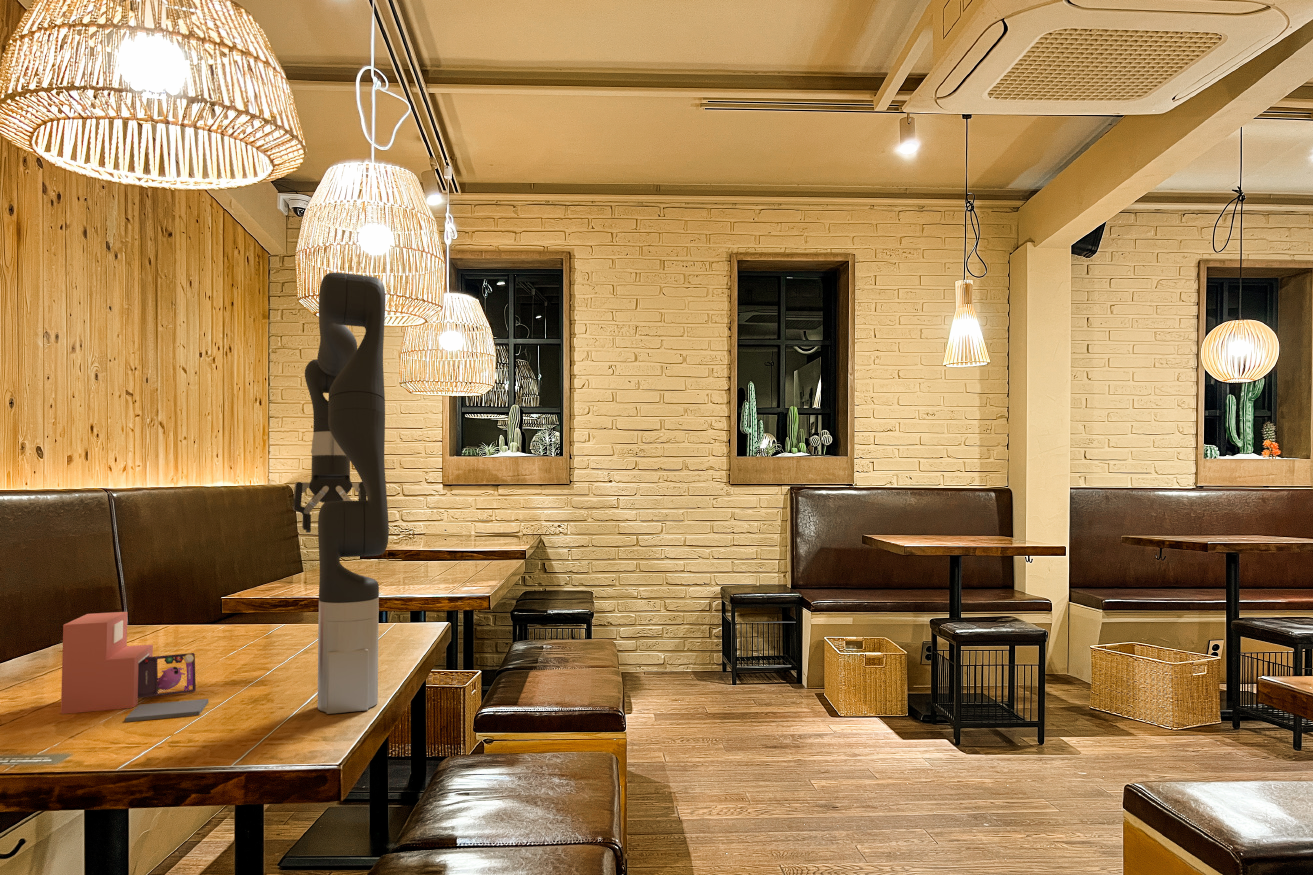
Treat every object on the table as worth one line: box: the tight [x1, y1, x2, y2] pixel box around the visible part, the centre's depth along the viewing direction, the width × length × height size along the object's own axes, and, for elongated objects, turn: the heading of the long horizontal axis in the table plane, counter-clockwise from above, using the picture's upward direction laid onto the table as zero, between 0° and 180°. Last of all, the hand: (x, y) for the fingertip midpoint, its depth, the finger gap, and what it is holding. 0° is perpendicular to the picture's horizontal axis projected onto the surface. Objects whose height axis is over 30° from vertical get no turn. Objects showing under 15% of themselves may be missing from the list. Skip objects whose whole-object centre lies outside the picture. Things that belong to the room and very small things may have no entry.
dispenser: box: [60, 611, 154, 715], centre depth 138 cm, size 12×10×14 cm
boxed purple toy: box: [138, 652, 197, 699], centre depth 142 cm, size 7×5×9 cm
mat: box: [124, 698, 209, 723], centre depth 131 cm, size 8×10×1 cm
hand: (330, 531), depth 171 cm, fingers open, 8 cm apart
